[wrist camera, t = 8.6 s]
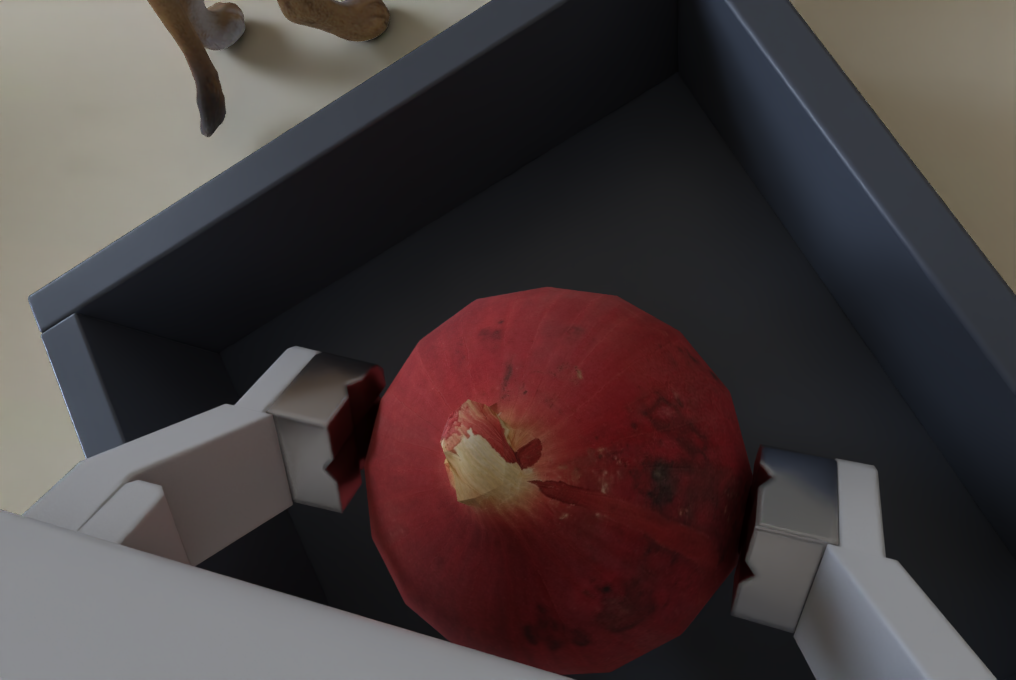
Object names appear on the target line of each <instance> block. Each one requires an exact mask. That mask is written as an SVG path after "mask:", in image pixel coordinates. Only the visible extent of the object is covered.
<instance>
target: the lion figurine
mask: <svg viewBox="0 0 1016 680" xmlns="http://www.w3.org/2000/svg"><path fill="white" fill-rule="evenodd" d="M147 1H148V2H149V4H150V5H151V7H152V8H153V10H154V11H155V12H156V14H157V15H158V17H159V18H160V20H161V21H162V23H163V24H164V26H165V27H166V28H167V30H168V31H169V32H170V34H171V35H172V36H173V38H174V39H175V41H176V43H177V44H178V46H179V47H180V49H181V50H182V52H183V53H184V56H185V58H186V60H187V62H188V65H189V67H190V70H191V72H192V75H193V77H194V80H195V83H196V89H197V105H198V108H199V111H200V116H201V133H202V134H203V135H205V136H206V137H210V136H211V135H212V134H213V133H214V132H215V130H216V129H217V127H218V126H219V125H220V124H222V122H223V121H224V118H225V114H226V109H225V98H224V95H223V92H222V88H221V84H220V81H219V77H218V72H217V71H216V69H215V67H214V66H213V64H212V62H211V60H210V58H209V56H208V54H207V52H206V50H205V48H208V49H211V50H223V49H226V48H227V47H229V46H231V45H233V44H234V43H235V42H236V41H237V40H238V39H239V38H240V37H241V35H242V34H243V33H244V30H245V23H244V15H243V13H242V10H241V9H240V8H239V7H238V6H237V5H236V4H234V3H230V2H229V3H222V2H218V3H215V4H214V5H212V6H210V7H209V8H206V6H205V4H204V0H147ZM277 1H278V4H279V6H280V8H281V10H282V12H283V14H284V16H285V17H286V18H287V19H288V20H289V21H291V22H294V23H297V24H300V25H305V26H309V27H313V28H317V29H321V30H323V31H326V32H329V33H331V34H334V35H336V36H338V37H340V38H343V39H346V40H349V41H367V40H370V39H373V38H375V37H377V36H379V35H380V34H382V33H383V32H384V31H385V30H386V29H387V26H388V23H389V18H390V13H389V10H388V9H387V7H386V6H385V4H384V3H383V1H382V0H345V1H343V2H338V1H335V0H277ZM204 47H205V48H204Z"/></svg>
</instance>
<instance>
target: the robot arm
mask: <svg viewBox="0 0 1016 680" xmlns="http://www.w3.org/2000/svg"><path fill="white" fill-rule="evenodd" d="M385 386H386V382H385V376H384V370H383V368H382V367H380V366H379V365H378V364H374V363H369V362H365V361H361V360H357V359H352V358H348V357H344V356H339V355H335V354H331V353H327V352H319V351H315V350H311V349H307V348H303V347H298V346H294V347H291V348H288V349H287V350H286V351H285V352H284V353H283V354H282V355H281V356H280V357H279V358H278V359H277V360H276V361H275V362H274V363H273V364H272V366H271V367H270V368H269V369H268V370H267V371H266V372H265V373H264V374H263V375H262V376H261V377H260V378H259V379H258V380H257V382H256V383H255V384H254V385H253V386H252V387H251V388H250V389H249V390H248V391H247V392H246V393H245V394H244V395H243V396H242V398H241V399H240V400H239V401H238V402H237V403H236V404H235V405H229V404H224V405H221V406H219V407H216V408H214V409H211V410H209V411H206V412H204V413H201V414H198V415H196V416H193V417H191V418H188V419H186V420H183V421H181V422H178V423H176V424H173V425H171V426H168V427H166V428H163V429H161V430H158V431H156V432H153V433H150V434H148V435H145V436H143V437H140V438H138V439H135V440H133V441H130V442H128V443H125V444H123V445H120V446H118V447H115V448H113V449H110V450H108V451H105V452H102V453H100V454H97V455H95V456H92V457H90V458H87V459H85V460H82V461H80V462H79V463H78V464H77V465H76V466H75V467H73V468H72V469H71V470H70V471H69V472H68V473H67V474H66V475H65V476H64V477H63V478H62V479H60V480H59V481H58V482H57V483H56V484H55V485H54V486H53V487H52V488H51V489H50V490H49V491H48V492H46V493H45V494H44V495H43V496H42V497H41V498H40V499H39V500H38V501H37V502H36V503H35V504H33V505H32V506H31V507H30V508H29V509H28V510H27V511H26V512H25V513H24V514H23V515H19V514H15V513H12V512H9V511H5V510H2V509H0V680H576V679H572V678H569V677H566V676H562V675H559V674H555V673H552V672H549V671H545V670H542V669H538V668H535V667H532V666H528V665H525V664H522V663H518V662H515V661H511V660H508V659H505V658H501V657H498V656H495V655H491V654H488V653H484V652H481V651H478V650H474V649H471V648H468V647H464V646H461V645H457V644H454V643H451V642H447V641H444V640H441V639H437V638H434V637H431V636H427V635H424V634H420V633H417V632H414V631H410V630H407V629H404V628H400V627H397V626H393V625H390V624H387V623H383V622H380V621H377V620H373V619H370V618H367V617H363V616H360V615H356V614H353V613H350V612H346V611H343V610H340V609H336V608H333V607H329V606H326V605H323V604H319V603H316V602H313V601H309V600H306V599H302V598H299V597H296V596H292V595H289V594H286V593H282V592H279V591H275V590H272V589H269V588H265V587H262V586H259V585H255V584H252V583H248V582H245V581H242V580H238V579H235V578H232V577H228V576H225V575H221V574H218V573H215V572H211V571H208V570H205V569H201V568H198V567H195V566H196V565H198V564H200V563H201V562H203V561H204V560H206V559H208V558H209V557H211V556H212V555H214V554H215V553H217V552H219V551H220V550H222V549H223V548H225V547H227V546H228V545H230V544H231V543H233V542H235V541H236V540H238V539H239V538H241V537H243V536H244V535H246V534H247V533H249V532H250V531H252V530H254V529H255V528H257V527H258V526H260V525H262V524H263V523H265V522H266V521H268V520H270V519H271V518H273V517H274V516H276V515H278V514H279V513H281V512H282V511H284V510H285V509H287V508H289V507H290V506H292V505H293V502H296V503H300V504H304V505H309V506H313V507H317V508H322V509H326V510H330V511H335V512H339V513H343V511H344V510H345V508H346V507H347V505H348V504H349V502H350V501H351V499H352V498H353V496H354V495H355V493H356V492H357V490H358V488H359V487H360V485H361V484H362V479H361V472H360V470H362V469H364V463H365V459H366V456H367V452H368V448H369V444H370V440H371V436H372V432H373V428H374V424H375V420H376V416H377V412H378V408H379V405H380V401H381V399H382V398H381V397H380V396H379V395H380V393H381V392H382V390H383V389H384V388H385ZM738 554H739V559H738V563H737V566H736V570H735V574H734V581H733V592H732V603H731V614H730V615H732V616H735V617H738V618H742V619H745V620H749V621H752V622H756V623H759V624H763V625H766V626H770V627H773V628H777V629H780V630H783V631H787V632H790V633H794V636H793V637H794V638H795V640H796V642H797V644H798V646H799V648H800V650H801V652H802V654H803V656H804V657H805V659H806V661H807V663H808V665H809V667H810V669H811V671H812V673H813V675H814V676H815V678H816V680H997V679H996V677H995V676H994V675H993V674H992V673H991V671H990V670H989V669H988V668H987V667H986V665H985V664H984V663H983V662H982V661H981V659H980V658H979V657H978V656H977V655H976V654H975V652H974V651H973V650H972V649H971V648H970V646H969V645H968V644H967V643H966V642H965V640H964V639H963V638H962V637H961V636H960V634H959V633H958V632H957V631H956V630H955V628H954V627H953V626H952V625H951V624H950V622H949V621H948V620H947V619H946V618H945V616H944V615H943V614H942V613H941V612H940V611H939V609H938V608H937V607H936V606H935V605H934V603H933V602H932V601H931V600H930V599H929V597H928V596H927V595H926V594H925V593H924V591H923V590H922V589H921V588H920V587H919V585H918V584H917V583H916V582H915V581H914V579H913V578H912V577H911V576H910V575H909V574H908V572H907V571H906V570H905V569H904V568H903V566H902V565H901V564H900V563H899V562H898V561H897V560H893V559H889V558H886V554H885V543H884V533H883V522H882V511H881V500H880V490H879V479H878V471H877V469H876V468H875V466H874V465H868V464H863V463H858V462H852V461H847V460H842V459H837V458H836V459H835V460H834V459H833V458H828V457H823V456H818V455H813V454H808V453H803V452H798V451H793V450H788V449H783V448H778V447H773V446H768V445H763V444H760V446H759V449H758V452H757V455H756V459H755V462H754V469H753V479H752V485H751V487H750V491H749V495H748V499H747V503H746V508H745V513H744V518H743V523H742V529H741V534H740V539H739V546H738Z"/></svg>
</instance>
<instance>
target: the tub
mask: <svg viewBox="0 0 1016 680" xmlns="http://www.w3.org/2000/svg"><path fill="white" fill-rule="evenodd" d="M543 287H553V288H561V289H569V290H576V291H584V292H592V293H599V294H607V295H615V296H618V297H620V298H622V299H623V300H625V301H627V302H629V303H631V304H632V305H634V306H636V307H638V308H639V309H641V310H643V311H645V312H647V313H648V314H650V315H652V316H654V317H655V318H657V319H659V320H661V321H663V322H664V323H666V324H668V325H670V326H671V327H673V328H675V329H677V330H678V331H680V332H681V333H682V334H683V336H684V337H685V338H686V339H687V340H688V342H689V343H690V344H691V345H692V347H693V348H694V349H695V350H696V351H697V353H698V354H699V355H700V356H701V357H702V359H703V360H704V361H705V362H706V363H707V365H708V366H709V367H710V368H711V370H712V371H713V372H714V373H715V374H716V376H717V377H718V378H719V379H720V380H721V382H722V383H723V384H724V385H725V387H726V388H727V389H728V390H729V391H730V394H731V397H732V400H733V404H734V408H735V412H736V415H737V419H738V423H739V426H740V430H741V434H742V438H743V441H744V445H745V449H746V452H747V456H748V460H749V464H750V467H751V471H752V475H753V469H754V462H755V459H756V455H757V452H758V449H759V446H760V444H763V445H768V446H773V447H778V448H783V449H788V450H793V451H798V452H803V453H808V454H813V455H818V456H823V457H828V458H833V459H834V460H835V459H836V458H837V459H842V460H847V461H852V462H858V463H863V464H868V465H874V466H875V468H876V469H877V471H878V479H879V490H880V500H881V511H882V522H883V533H884V543H885V554H886V558H889V559H893V560H897V561H898V562H899V563H900V564H901V565H902V566H903V568H904V569H905V570H906V571H907V572H908V574H909V575H910V576H911V577H912V578H913V579H914V581H915V582H916V583H917V584H918V585H919V587H920V588H921V589H922V590H923V591H924V593H925V594H926V595H927V596H928V597H929V599H930V600H931V601H932V602H933V603H934V605H935V606H936V607H937V608H938V609H939V611H940V612H941V613H942V614H943V615H944V616H945V618H946V619H947V620H948V621H949V622H950V624H951V625H952V626H953V627H954V628H955V630H956V631H957V632H958V633H959V634H960V636H961V637H962V638H963V639H964V640H965V642H966V643H967V644H968V645H969V646H970V648H971V649H972V650H973V651H974V652H975V654H976V655H977V656H978V657H979V658H980V659H981V661H982V662H983V663H984V664H985V665H986V667H987V668H988V669H989V670H990V671H991V673H992V674H993V675H994V676H995V677H996V679H997V680H1016V295H1015V294H1014V293H1013V291H1012V290H1011V289H1010V287H1009V286H1008V285H1007V284H1006V282H1005V281H1004V280H1003V278H1002V277H1001V276H1000V274H999V273H998V272H997V271H996V269H995V268H994V267H993V265H992V264H991V263H990V261H989V260H988V259H987V258H986V256H985V255H984V254H983V252H982V251H981V250H980V248H979V247H978V246H977V245H976V243H975V242H974V241H973V239H972V238H971V237H970V235H969V234H968V233H967V232H966V230H965V229H964V228H963V226H962V225H961V224H960V222H959V221H958V220H957V218H956V217H955V216H954V215H953V213H952V212H951V211H950V209H949V208H948V207H947V205H946V204H945V203H944V202H943V200H942V199H941V198H940V196H939V195H938V194H937V192H936V191H935V190H934V189H933V187H932V186H931V185H930V183H929V182H928V181H927V179H926V178H925V177H924V176H923V174H922V173H921V172H920V170H919V169H918V168H917V166H916V165H915V164H914V163H913V161H912V160H911V159H910V157H909V156H908V155H907V153H906V152H905V151H904V150H903V148H902V147H901V146H900V144H899V143H898V142H897V140H896V139H895V138H894V137H893V135H892V134H891V133H890V131H889V130H888V129H887V127H886V126H885V125H884V123H883V122H882V121H881V120H880V118H879V117H878V116H877V114H876V113H875V112H874V110H873V109H872V108H871V107H870V105H869V104H868V103H867V101H866V100H865V99H864V97H863V96H862V95H861V94H860V92H859V91H858V90H857V88H856V87H855V86H854V84H853V83H852V82H851V81H850V79H849V78H848V77H847V75H846V74H845V73H844V71H843V70H842V69H841V68H840V66H839V65H838V64H837V62H836V61H835V60H834V58H833V57H832V56H831V55H830V53H829V52H828V51H827V49H826V48H825V47H824V45H823V44H822V43H821V41H820V40H819V39H818V38H817V36H816V35H815V34H814V32H813V31H812V30H811V28H810V27H809V26H808V25H807V23H806V22H805V21H804V19H803V18H802V17H801V15H800V14H799V13H798V12H797V10H796V9H795V8H794V6H793V5H792V4H791V2H790V1H789V0H491V1H490V2H488V3H487V4H485V5H484V6H482V7H481V8H479V9H477V10H476V11H474V12H473V13H471V14H470V15H468V16H466V17H465V18H463V19H462V20H460V21H459V22H457V23H455V24H454V25H452V26H451V27H449V28H448V29H446V30H445V31H443V32H441V33H440V34H438V35H437V36H435V37H434V38H432V39H430V40H429V41H427V42H426V43H424V44H423V45H421V46H419V47H418V48H416V49H415V50H413V51H412V52H410V53H409V54H407V55H405V56H404V57H402V58H401V59H399V60H398V61H396V62H394V63H393V64H391V65H390V66H388V67H387V68H385V69H383V70H382V71H380V72H379V73H377V74H376V75H374V76H373V77H371V78H369V79H368V80H366V81H365V82H363V83H362V84H360V85H358V86H357V87H355V88H354V89H352V90H351V91H349V92H348V93H346V94H344V95H343V96H341V97H340V98H338V99H337V100H335V101H333V102H332V103H330V104H329V105H327V106H326V107H324V108H322V109H321V110H319V111H318V112H316V113H315V114H313V115H312V116H310V117H308V118H307V119H305V120H304V121H302V122H301V123H299V124H297V125H296V126H294V127H293V128H291V129H290V130H288V131H286V132H285V133H283V134H282V135H280V136H279V137H277V138H276V139H274V140H272V141H271V142H269V143H268V144H266V145H265V146H263V147H261V148H260V149H258V150H257V151H255V152H254V153H252V154H250V155H249V156H247V157H246V158H244V159H243V160H241V161H240V162H238V163H236V164H235V165H233V166H232V167H230V168H229V169H227V170H225V171H224V172H222V173H221V174H219V175H218V176H216V177H215V178H213V179H211V180H210V181H208V182H207V183H205V184H204V185H202V186H200V187H199V188H197V189H196V190H194V191H193V192H191V193H189V194H188V195H186V196H185V197H183V198H182V199H180V200H179V201H177V202H175V203H174V204H172V205H171V206H169V207H168V208H166V209H164V210H163V211H161V212H160V213H158V214H157V215H155V216H153V217H152V218H150V219H149V220H147V221H146V222H144V223H143V224H141V225H139V226H138V227H136V228H135V229H133V230H132V231H130V232H128V233H127V234H125V235H124V236H122V237H121V238H119V239H117V240H116V241H114V242H113V243H111V244H110V245H108V246H107V247H105V248H103V249H102V250H100V251H99V252H97V253H96V254H94V255H92V256H91V257H89V258H88V259H86V260H85V261H83V262H82V263H80V264H78V265H77V266H75V267H74V268H72V269H71V270H69V271H67V272H66V273H64V274H63V275H61V276H60V277H58V278H56V279H55V280H53V281H52V282H50V283H49V284H47V285H46V286H44V287H42V288H41V289H39V290H38V291H36V292H35V293H33V294H31V295H30V296H29V297H28V301H29V304H30V307H31V309H32V312H33V315H34V318H35V320H36V323H37V326H38V328H39V330H40V332H41V333H42V334H41V338H42V341H43V344H44V347H45V349H46V352H47V355H48V357H49V360H50V363H51V366H52V368H53V371H54V374H55V376H56V379H57V382H58V385H59V387H60V390H61V393H62V396H63V398H64V401H65V404H66V406H67V409H68V412H69V415H70V417H71V420H72V423H73V425H74V428H75V431H76V434H77V436H78V439H79V442H80V445H81V447H82V450H83V453H84V455H85V458H86V459H87V458H90V457H92V456H95V455H97V454H100V453H102V452H105V451H108V450H110V449H113V448H115V447H118V446H120V445H123V444H125V443H128V442H130V441H133V440H135V439H138V438H140V437H143V436H145V435H148V434H150V433H153V432H156V431H158V430H161V429H163V428H166V427H168V426H171V425H173V424H176V423H178V422H181V421H183V420H186V419H188V418H191V417H193V416H196V415H198V414H201V413H204V412H206V411H209V410H211V409H214V408H216V407H219V406H221V405H224V404H229V405H235V404H236V403H237V402H238V401H239V400H240V399H241V398H242V396H243V395H244V394H245V393H246V392H247V391H248V390H249V389H250V388H251V387H252V386H253V385H254V384H255V383H256V382H257V380H258V379H259V378H260V377H261V376H262V375H263V374H264V373H265V372H266V371H267V370H268V369H269V368H270V367H271V366H272V364H273V363H274V362H275V361H276V360H277V359H278V358H279V357H280V356H281V355H282V354H283V353H284V352H285V351H286V350H287V349H288V348H291V347H294V346H298V347H303V348H307V349H311V350H315V351H319V352H327V353H331V354H335V355H339V356H344V357H348V358H352V359H357V360H361V361H365V362H369V363H374V364H378V365H379V366H380V367H382V368H383V370H384V376H385V382H386V386H385V388H384V389H383V390H382V392H381V393H380V395H379V396H380V397H381V398H382V397H383V395H384V394H385V392H386V391H387V389H388V388H389V386H390V385H391V383H392V382H393V380H394V379H395V377H396V376H397V374H398V373H399V371H400V369H401V368H402V366H403V365H404V363H405V362H406V360H407V359H408V357H409V356H410V354H411V353H412V351H413V350H414V348H415V347H416V345H417V344H418V342H419V341H420V340H421V339H422V338H423V337H425V336H426V335H428V334H429V333H430V332H432V331H433V330H434V329H436V328H437V327H439V326H440V325H441V324H443V323H444V322H445V321H447V320H448V319H449V318H451V317H452V316H454V315H455V314H456V313H458V312H459V311H460V310H462V309H463V308H464V307H466V306H467V305H469V304H470V303H471V302H473V301H475V300H476V299H480V298H486V297H491V296H497V295H503V294H508V293H514V292H520V291H526V290H531V289H537V288H543ZM360 472H361V479H362V484H361V485H360V487H359V488H358V490H357V492H356V493H355V495H354V496H353V498H352V499H351V501H350V502H349V504H348V505H347V507H346V508H345V510H344V511H343V513H339V512H335V511H330V510H326V509H322V508H317V507H313V506H309V505H304V504H300V503H296V502H293V505H292V506H290V507H289V508H287V509H285V510H284V511H282V512H281V513H279V514H278V515H276V516H274V517H273V518H271V519H270V520H268V521H266V522H265V523H263V524H262V525H260V526H258V527H257V528H255V529H254V530H252V531H250V532H249V533H247V534H246V535H244V536H243V537H241V538H239V539H238V540H236V541H235V542H233V543H231V544H230V545H228V546H227V547H225V548H223V549H222V550H220V551H219V552H217V553H215V554H214V555H212V556H211V557H209V558H208V559H206V560H204V561H203V562H201V563H200V564H198V565H196V566H195V567H198V568H201V569H205V570H208V571H211V572H215V573H218V574H221V575H225V576H228V577H232V578H235V579H238V580H242V581H245V582H248V583H252V584H255V585H259V586H262V587H265V588H269V589H272V590H275V591H279V592H282V593H286V594H289V595H292V596H296V597H299V598H302V599H306V600H309V601H313V602H316V603H319V604H323V605H326V606H329V607H333V608H336V609H340V610H343V611H346V612H350V613H353V614H356V615H360V616H363V617H367V618H370V619H373V620H377V621H380V622H383V623H387V624H390V625H393V626H397V627H400V628H404V629H407V630H410V631H414V632H417V633H420V634H424V635H427V636H431V637H434V638H437V639H441V640H444V641H447V642H450V641H449V640H447V639H446V638H445V637H444V636H443V635H442V634H440V633H439V632H438V631H437V630H436V629H434V628H433V627H432V626H431V625H430V624H429V623H427V622H426V621H425V620H424V619H423V618H422V617H420V616H419V615H418V614H417V613H416V612H415V611H413V610H412V609H411V608H410V607H409V606H407V605H406V604H405V602H404V600H403V598H402V596H401V594H400V592H399V590H398V588H397V586H396V584H395V582H394V580H393V578H392V576H391V574H390V572H389V570H388V568H387V566H386V564H385V562H384V560H383V558H382V556H381V554H380V552H379V551H378V549H377V547H376V545H375V543H374V541H373V539H372V535H371V525H370V516H369V507H368V498H367V488H366V479H365V470H364V469H362V470H360ZM738 559H739V557H738ZM737 563H738V562H737ZM736 566H737V565H736ZM735 570H736V567H735V568H734V569H733V570H732V572H731V573H730V574H729V576H728V577H727V578H726V579H725V581H724V582H723V583H722V584H721V586H720V587H719V588H718V589H717V591H716V592H715V593H714V595H713V596H712V597H711V598H710V600H709V601H708V602H707V603H706V605H705V606H704V607H703V608H702V610H701V611H700V612H699V614H698V615H697V616H696V617H695V619H694V620H693V621H692V622H691V624H690V625H689V626H688V627H687V629H686V630H685V631H684V632H683V633H682V634H681V635H680V636H678V637H676V638H674V639H672V640H670V641H668V642H667V643H665V644H663V645H661V646H659V647H657V648H655V649H653V650H651V651H650V652H648V653H646V654H644V655H642V656H640V657H638V658H636V659H634V660H632V661H631V662H629V663H627V664H625V665H623V666H621V667H619V668H617V669H615V670H614V671H612V672H609V673H588V674H567V675H562V676H566V677H569V678H572V679H576V680H816V678H815V676H814V675H813V673H812V671H811V669H810V667H809V665H808V663H807V661H806V659H805V657H804V656H803V654H802V652H801V650H800V648H799V646H798V644H797V642H796V640H795V638H794V637H793V636H794V633H790V632H787V631H783V630H780V629H777V628H773V627H770V626H766V625H763V624H759V623H756V622H752V621H749V620H745V619H742V618H738V617H735V616H732V615H730V614H731V603H732V592H733V581H734V574H735Z"/></svg>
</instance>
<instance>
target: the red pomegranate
mask: <svg viewBox="0 0 1016 680" xmlns="http://www.w3.org/2000/svg"><path fill="white" fill-rule="evenodd" d="M364 470H365V479H366V488H367V498H368V507H369V516H370V525H371V535H372V539H373V541H374V543H375V545H376V547H377V549H378V551H379V552H380V554H381V556H382V558H383V560H384V562H385V564H386V566H387V568H388V570H389V572H390V574H391V576H392V578H393V580H394V582H395V584H396V586H397V588H398V590H399V592H400V594H401V596H402V598H403V600H404V602H405V604H406V605H407V606H409V607H410V608H411V609H412V610H413V611H415V612H416V613H417V614H418V615H419V616H420V617H422V618H423V619H424V620H425V621H426V622H427V623H429V624H430V625H431V626H432V627H433V628H434V629H436V630H437V631H438V632H439V633H440V634H442V635H443V636H444V637H445V638H446V639H447V640H449V641H450V642H451V643H454V644H457V645H461V646H464V647H468V648H471V649H474V650H478V651H481V652H484V653H488V654H491V655H495V656H498V657H501V658H505V659H508V660H511V661H515V662H518V663H522V664H525V665H528V666H532V667H535V668H538V669H542V670H545V671H549V672H552V673H555V674H559V675H567V674H588V673H609V672H612V671H614V670H615V669H617V668H619V667H621V666H623V665H625V664H627V663H629V662H631V661H632V660H634V659H636V658H638V657H640V656H642V655H644V654H646V653H648V652H650V651H651V650H653V649H655V648H657V647H659V646H661V645H663V644H665V643H667V642H668V641H670V640H672V639H674V638H676V637H678V636H680V635H681V634H682V633H683V632H684V631H685V630H686V629H687V627H688V626H689V625H690V624H691V622H692V621H693V620H694V619H695V617H696V616H697V615H698V614H699V612H700V611H701V610H702V608H703V607H704V606H705V605H706V603H707V602H708V601H709V600H710V598H711V597H712V596H713V595H714V593H715V592H716V591H717V589H718V588H719V587H720V586H721V584H722V583H723V582H724V581H725V579H726V578H727V577H728V576H729V574H730V573H731V572H732V570H733V569H734V568H735V567H736V565H737V562H738V557H739V554H738V546H739V539H740V534H741V529H742V523H743V518H744V513H745V508H746V503H747V499H748V495H749V491H750V487H751V485H752V479H753V475H752V471H751V467H750V464H749V460H748V456H747V452H746V449H745V445H744V441H743V438H742V434H741V430H740V426H739V423H738V419H737V415H736V412H735V408H734V404H733V400H732V397H731V394H730V391H729V390H728V389H727V388H726V387H725V385H724V384H723V383H722V382H721V380H720V379H719V378H718V377H717V376H716V374H715V373H714V372H713V371H712V370H711V368H710V367H709V366H708V365H707V363H706V362H705V361H704V360H703V359H702V357H701V356H700V355H699V354H698V353H697V351H696V350H695V349H694V348H693V347H692V345H691V344H690V343H689V342H688V340H687V339H686V338H685V337H684V336H683V334H682V333H681V332H680V331H678V330H677V329H675V328H673V327H671V326H670V325H668V324H666V323H664V322H663V321H661V320H659V319H657V318H655V317H654V316H652V315H650V314H648V313H647V312H645V311H643V310H641V309H639V308H638V307H636V306H634V305H632V304H631V303H629V302H627V301H625V300H623V299H622V298H620V297H618V296H615V295H607V294H599V293H592V292H584V291H576V290H569V289H561V288H553V287H543V288H537V289H531V290H526V291H520V292H514V293H508V294H503V295H497V296H491V297H486V298H480V299H476V300H475V301H473V302H471V303H470V304H469V305H467V306H466V307H464V308H463V309H462V310H460V311H459V312H458V313H456V314H455V315H454V316H452V317H451V318H449V319H448V320H447V321H445V322H444V323H443V324H441V325H440V326H439V327H437V328H436V329H434V330H433V331H432V332H430V333H429V334H428V335H426V336H425V337H423V338H422V339H421V340H420V341H419V342H418V344H417V345H416V347H415V348H414V350H413V351H412V353H411V354H410V356H409V357H408V359H407V360H406V362H405V363H404V365H403V366H402V368H401V369H400V371H399V373H398V374H397V376H396V377H395V379H394V380H393V382H392V383H391V385H390V386H389V388H388V389H387V391H386V392H385V394H384V395H383V397H382V399H381V401H380V405H379V408H378V412H377V416H376V420H375V424H374V428H373V432H372V436H371V440H370V444H369V448H368V452H367V456H366V459H365V463H364Z"/></svg>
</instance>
